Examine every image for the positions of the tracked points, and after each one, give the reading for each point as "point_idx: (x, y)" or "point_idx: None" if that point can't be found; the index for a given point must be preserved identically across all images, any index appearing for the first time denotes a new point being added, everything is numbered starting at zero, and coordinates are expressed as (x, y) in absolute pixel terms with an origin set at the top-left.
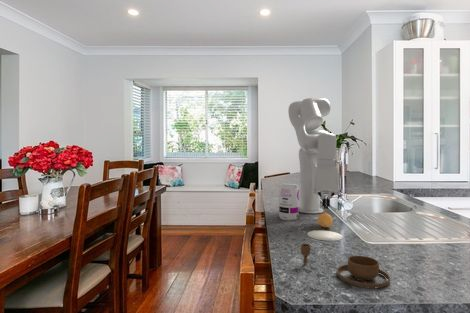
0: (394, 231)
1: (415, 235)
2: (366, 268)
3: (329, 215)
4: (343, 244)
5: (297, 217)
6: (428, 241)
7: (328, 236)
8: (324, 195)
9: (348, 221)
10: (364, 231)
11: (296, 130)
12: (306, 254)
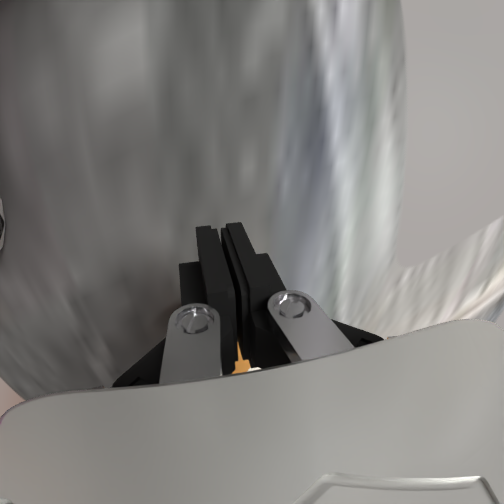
0: (476, 240)
1: (495, 260)
2: None
3: (247, 369)
4: None
5: (3, 228)
6: (484, 301)
7: None
8: (220, 339)
9: (366, 103)
10: (383, 291)
11: None
12: None
